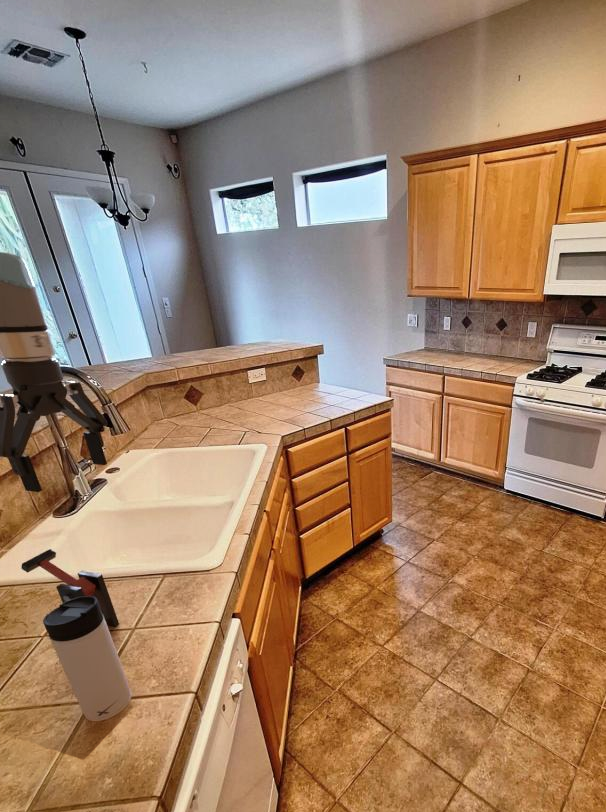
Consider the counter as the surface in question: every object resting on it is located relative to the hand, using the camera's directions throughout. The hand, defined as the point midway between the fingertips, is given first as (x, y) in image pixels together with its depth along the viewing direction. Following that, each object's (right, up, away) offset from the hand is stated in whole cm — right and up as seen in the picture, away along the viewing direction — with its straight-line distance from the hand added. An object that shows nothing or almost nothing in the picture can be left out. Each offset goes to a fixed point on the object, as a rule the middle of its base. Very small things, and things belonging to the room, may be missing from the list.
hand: (69, 476), depth 81 cm
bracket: (+6, -30, -1) cm, 31 cm away
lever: (+2, -19, -5) cm, 19 cm away
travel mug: (+18, -37, -15) cm, 44 cm away
